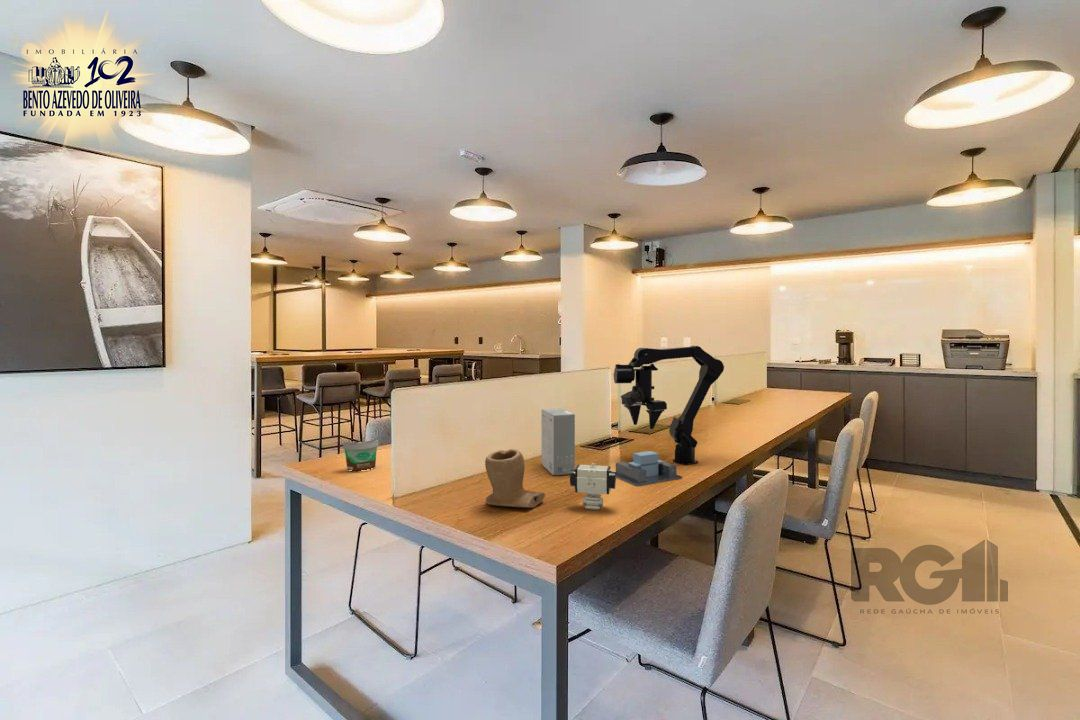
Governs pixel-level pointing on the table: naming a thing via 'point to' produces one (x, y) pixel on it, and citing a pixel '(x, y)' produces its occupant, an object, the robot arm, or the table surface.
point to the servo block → (646, 462)
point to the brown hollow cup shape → (509, 480)
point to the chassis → (638, 475)
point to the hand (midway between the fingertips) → (643, 426)
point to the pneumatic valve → (593, 483)
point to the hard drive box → (558, 441)
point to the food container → (361, 455)
